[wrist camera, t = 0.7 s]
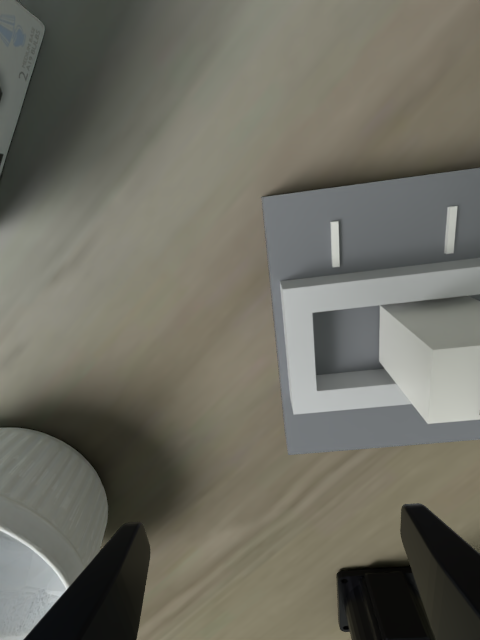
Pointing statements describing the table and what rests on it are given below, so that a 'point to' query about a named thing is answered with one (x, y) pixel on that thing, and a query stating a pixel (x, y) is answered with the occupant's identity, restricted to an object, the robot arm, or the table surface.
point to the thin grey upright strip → (15, 64)
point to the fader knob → (434, 355)
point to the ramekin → (43, 524)
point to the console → (363, 300)
